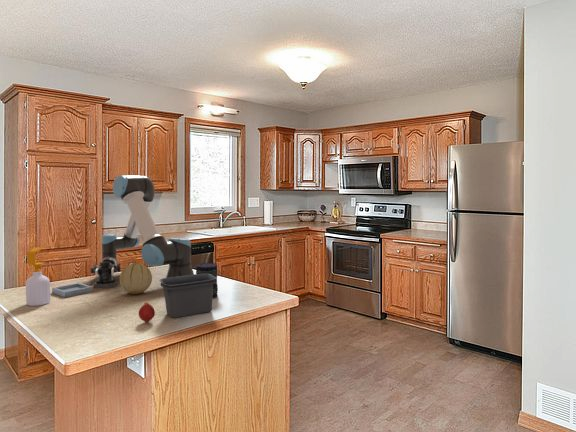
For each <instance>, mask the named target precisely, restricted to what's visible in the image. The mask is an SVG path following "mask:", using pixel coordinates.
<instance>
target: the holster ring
mask: <svg viewBox="0 0 576 432" xmlns="http://www.w3.org/2000/svg"><path fill="white" fill-rule="evenodd" d="M115 287H118V280H117V279H113V283H109V284H99V282H98V280H97V281H94V282H93V288H95V289H109V288H115Z"/></svg>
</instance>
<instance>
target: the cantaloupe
mask: <svg viewBox="0 0 576 432" xmlns="http://www.w3.org/2000/svg"><path fill="white" fill-rule="evenodd" d="M152 281H153V274H152V271H151V269H150V268H149V267H148V265H147V266H146V265H145V264H142V263H138V262H137V261H134V262H133V263H130V264H128V265H126V266H125V267H123V269H122V270H121V271H120V275H119V284H120V286H121V289H123V291H125V292H126V293H128V294H131V295H138V294H142V293H144V292H146V291H147V290H148V289H149V288H150V287H151V284H152Z"/></svg>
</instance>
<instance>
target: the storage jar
mask: <svg viewBox="0 0 576 432" xmlns="http://www.w3.org/2000/svg"><path fill="white" fill-rule="evenodd" d="M195 267H196V271H195V274H211V275H213V276H215V277H216V279H215V281H216V283H215V284H213V296H212V300H214V299H216V298H217V297H218V296H219V295H218V293H219V292H218V291H219V290H218V288H219V286H218V264H217V263H216V262H202V263H197V264H195Z"/></svg>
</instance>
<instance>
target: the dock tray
mask: <svg viewBox="0 0 576 432" xmlns="http://www.w3.org/2000/svg"><path fill="white" fill-rule="evenodd" d="M92 292H93V286H91V285H88V284H84V283H80V282H76V283H71V284H66V285H61V286H55V287H51V294H53V295H56V296H60V297H62V298H69V297H73V296H79V295H84V294H89V293H92Z"/></svg>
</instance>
